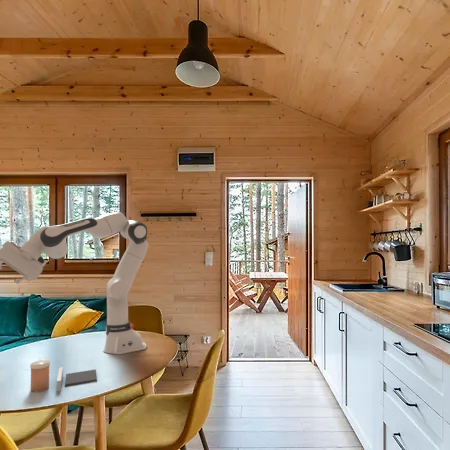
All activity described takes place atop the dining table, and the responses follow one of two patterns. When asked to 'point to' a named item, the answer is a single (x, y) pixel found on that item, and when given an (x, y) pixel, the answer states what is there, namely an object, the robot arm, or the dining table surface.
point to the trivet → (80, 377)
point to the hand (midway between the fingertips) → (7, 276)
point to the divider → (59, 379)
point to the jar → (40, 375)
